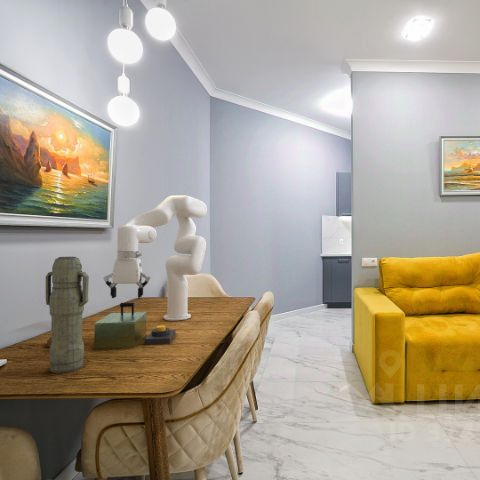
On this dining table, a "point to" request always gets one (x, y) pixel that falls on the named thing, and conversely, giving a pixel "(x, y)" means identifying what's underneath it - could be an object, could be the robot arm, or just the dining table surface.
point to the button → (161, 328)
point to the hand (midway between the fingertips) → (127, 297)
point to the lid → (122, 316)
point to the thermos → (66, 313)
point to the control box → (160, 337)
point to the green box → (119, 335)
